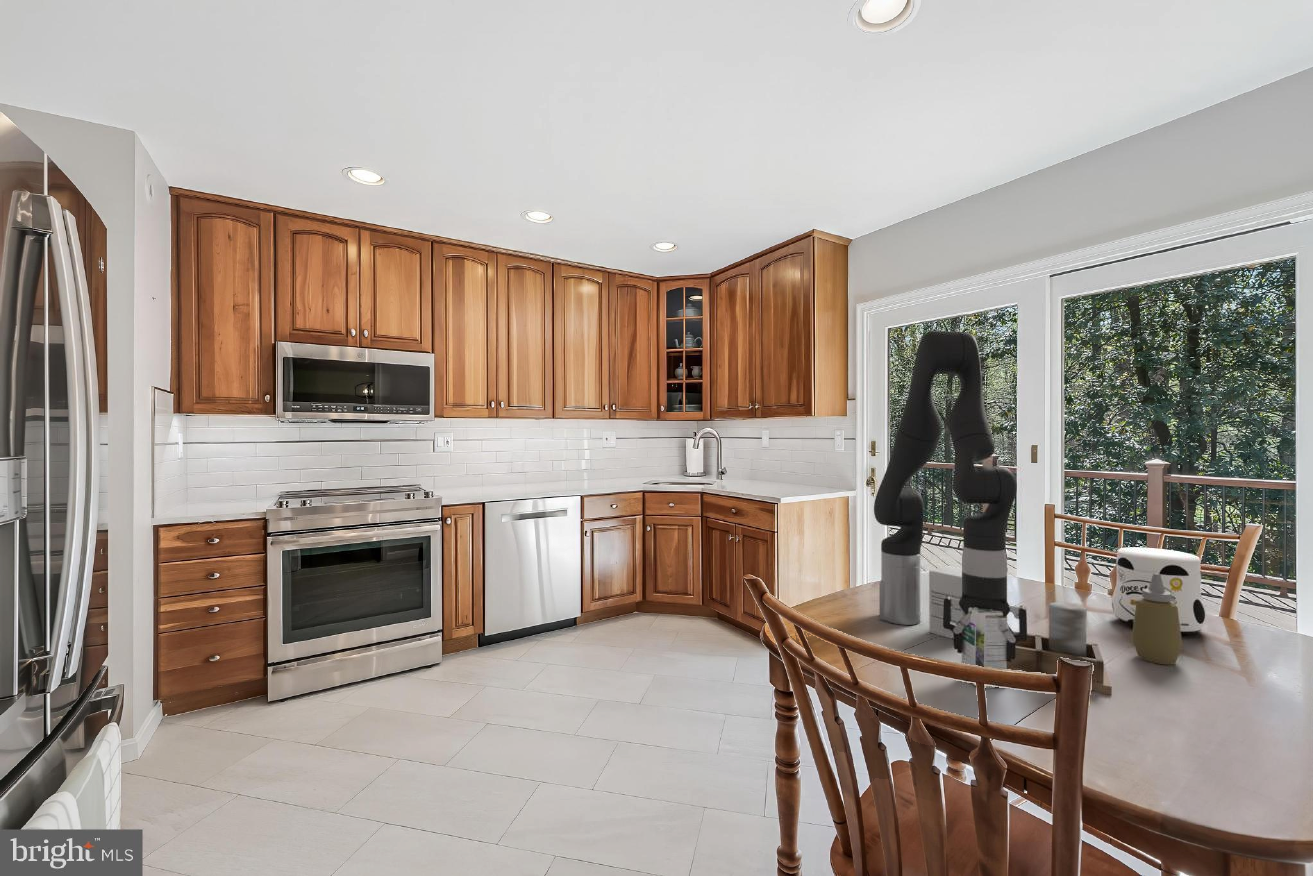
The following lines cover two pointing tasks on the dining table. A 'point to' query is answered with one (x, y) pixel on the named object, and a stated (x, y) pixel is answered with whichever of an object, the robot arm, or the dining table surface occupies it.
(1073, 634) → the walnut caddy
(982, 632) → the syrup box
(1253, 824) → the dining table surface
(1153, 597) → the squeeze bottle
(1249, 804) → the dining table surface
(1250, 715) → the dining table surface
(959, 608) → the supplement box
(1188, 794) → the dining table surface
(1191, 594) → the milk container
